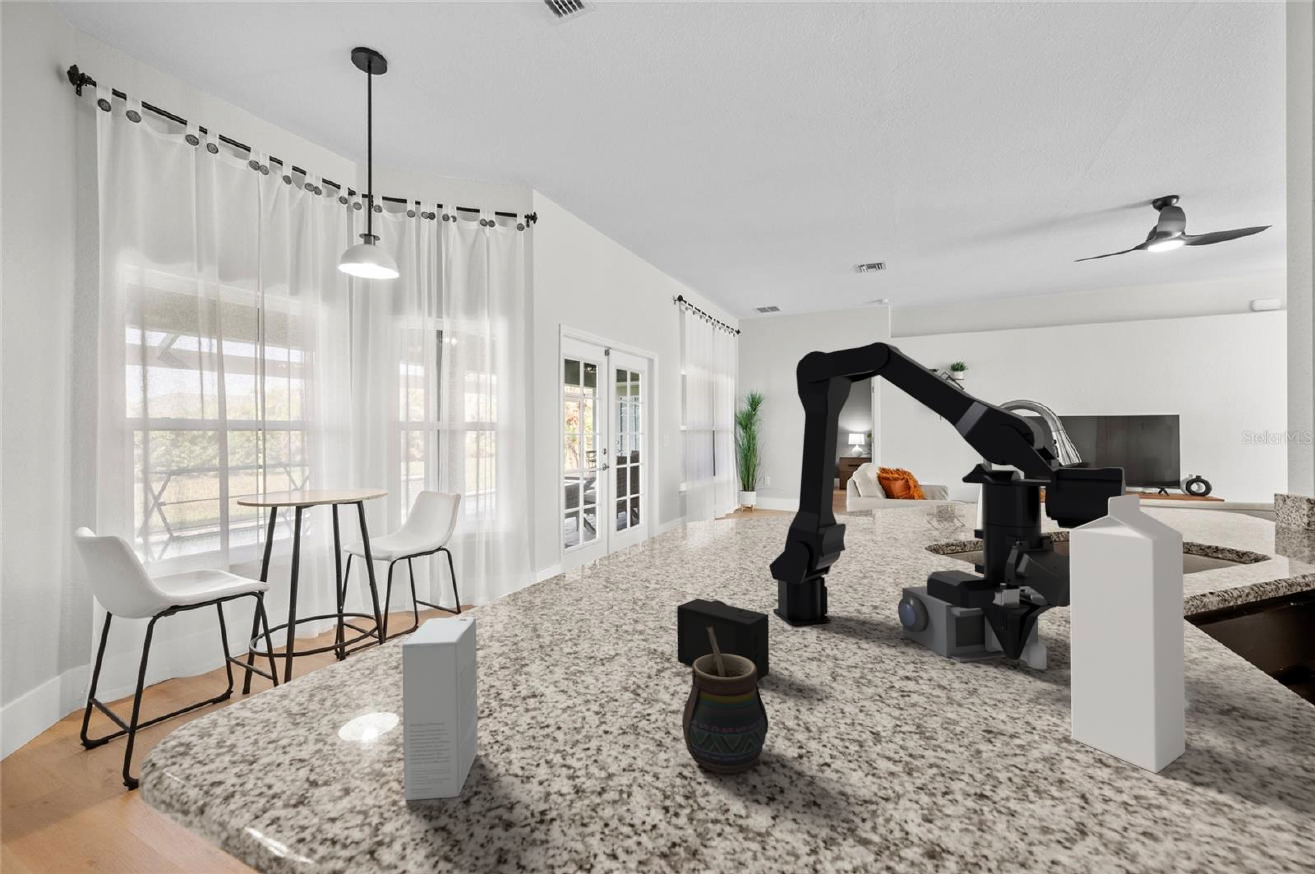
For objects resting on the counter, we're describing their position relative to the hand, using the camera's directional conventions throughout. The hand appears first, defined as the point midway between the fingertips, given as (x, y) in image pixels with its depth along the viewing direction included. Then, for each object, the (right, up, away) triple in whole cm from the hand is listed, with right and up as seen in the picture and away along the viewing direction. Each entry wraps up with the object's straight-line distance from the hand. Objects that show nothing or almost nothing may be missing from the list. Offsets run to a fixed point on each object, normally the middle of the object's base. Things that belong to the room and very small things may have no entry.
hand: (1012, 658), depth 62 cm
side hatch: (+4, -1, +2) cm, 4 cm away
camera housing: (0, -2, +9) cm, 9 cm away
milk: (0, -2, -15) cm, 15 cm away
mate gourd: (-36, -2, -16) cm, 39 cm away
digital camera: (-33, -2, +2) cm, 33 cm away
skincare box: (-59, -2, -19) cm, 62 cm away
